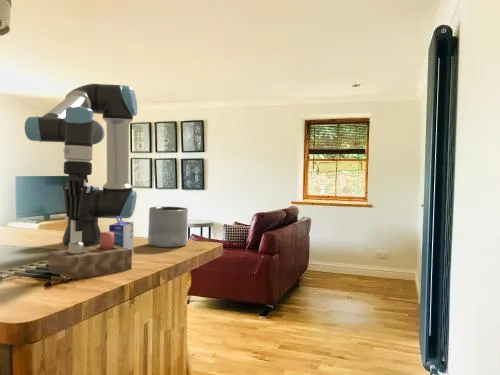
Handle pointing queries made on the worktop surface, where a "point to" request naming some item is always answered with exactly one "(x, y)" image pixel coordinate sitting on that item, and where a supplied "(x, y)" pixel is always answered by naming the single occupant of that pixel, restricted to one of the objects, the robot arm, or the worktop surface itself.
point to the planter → (167, 227)
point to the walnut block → (90, 261)
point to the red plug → (106, 241)
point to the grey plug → (75, 248)
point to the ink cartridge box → (122, 234)
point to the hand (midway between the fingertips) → (76, 242)
